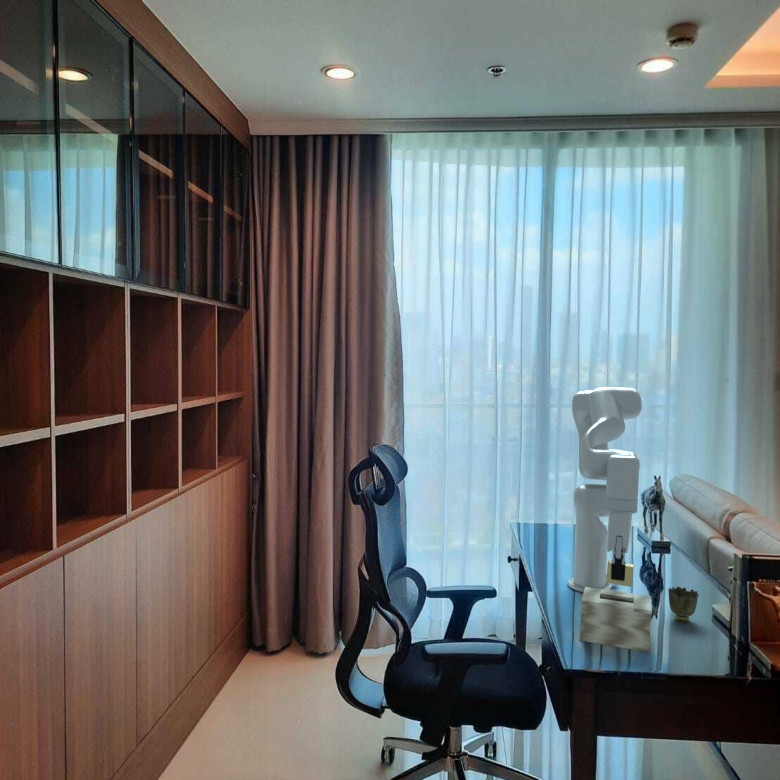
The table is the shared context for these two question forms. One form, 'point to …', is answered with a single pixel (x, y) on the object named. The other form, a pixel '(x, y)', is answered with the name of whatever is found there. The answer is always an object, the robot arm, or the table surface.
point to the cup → (682, 603)
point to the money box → (616, 619)
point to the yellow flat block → (627, 575)
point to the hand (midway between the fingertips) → (617, 577)
